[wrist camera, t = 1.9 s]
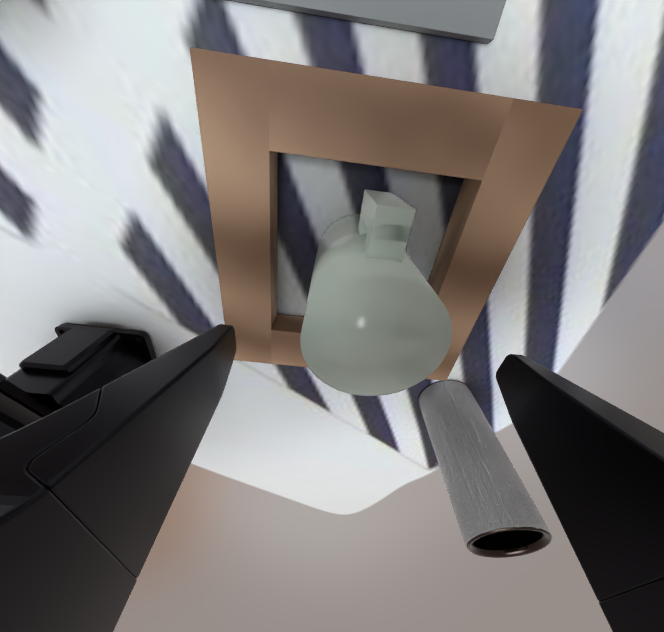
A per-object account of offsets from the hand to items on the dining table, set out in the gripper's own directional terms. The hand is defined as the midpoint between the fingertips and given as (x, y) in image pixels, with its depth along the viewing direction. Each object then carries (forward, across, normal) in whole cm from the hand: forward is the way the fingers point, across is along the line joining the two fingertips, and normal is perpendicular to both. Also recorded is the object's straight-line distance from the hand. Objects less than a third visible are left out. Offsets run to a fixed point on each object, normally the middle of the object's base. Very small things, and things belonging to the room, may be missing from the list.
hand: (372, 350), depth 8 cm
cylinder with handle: (+9, 0, 0) cm, 9 cm away
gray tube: (+9, -10, +12) cm, 18 cm away
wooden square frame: (+9, 0, 0) cm, 9 cm away
